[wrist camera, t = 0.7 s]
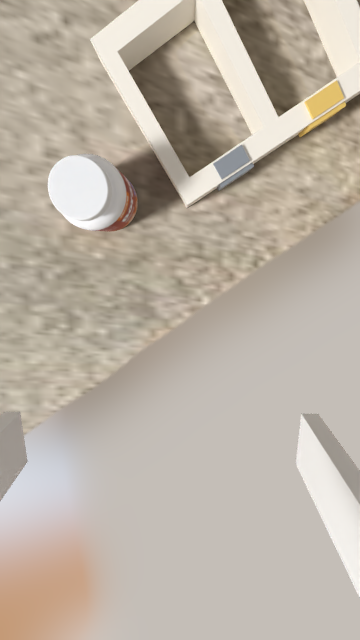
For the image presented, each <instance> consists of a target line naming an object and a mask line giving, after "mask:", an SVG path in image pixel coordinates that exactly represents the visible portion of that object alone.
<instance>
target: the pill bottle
mask: <svg viewBox="0 0 360 640" xmlns="http://www.w3.org/2000/svg"><path fill="white" fill-rule="evenodd" d="M48 192H49V196H50V198H51V201H52V203H53V204H54V206H55V207H56V208H57V210H58V211H60V212H61V213H62V214H63V216H64V217H65V218H66V219H67V220H68V221H69V222H71V223H72V224H74V225H75V226H77V227H80V228H82V229H86V230H92V231H117V230H120V229H122V228H124V227H125V226H127V225H128V224H129V223H130V222H131V221H132V219H133V218H134V216H135V214H136V211H137V205H138V200H137V194H136V191H135V189H134V187H133V185H132V184H131V182H130V181H129V180H128V179H127V178H126V177H125V176H124V175H123V174H122V173H121V172H120V171H119V170H118V169H117V168H116V167H115V166H114V165H113V164H111V163H110V162H109V161H107V160H106V159H104V158H102V157H100V156H98V155H94V154H80V155H71V156H67V157H65V158H63V159H61V160H59V161H58V162H57V163H56V164H55V165H54V167H53V168H52V170H51V172H50V175H49V179H48Z"/></svg>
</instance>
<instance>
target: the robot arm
mask: <svg viewBox="0 0 360 640" xmlns="http://www.w3.org/2000/svg"><path fill="white" fill-rule="evenodd" d="M26 463H27V455H26V448H25V441H24V435H23V428H22V421H21V415H20V412H3V413H2V414H1V415H0V501H1V499H2V498H3V496H4V495H5V494H6V492H7V490H8V489H9V488H10V486H11V485H12V483H13V482H14V481H15V479H16V478H17V476H18V475H19V473H20V472H21V470H22V469H23V467H24V466H25V464H26ZM296 466H297V467H298V470H299V472H300V474H301V476H302V478H303V480H304V482H305V484H306V487H307V489H308V491H309V493H310V495H311V497H312V499H313V501H314V503H315V505H316V507H317V509H318V512H319V513H320V516H321V518H322V520H323V522H324V524H325V526H326V528H327V530H328V533H329V535H330V537H331V539H332V541H333V543H334V545H335V547H336V549H337V551H338V553H339V555H340V558H341V560H342V562H343V564H344V566H345V568H346V570H347V572H348V574H349V576H350V578H351V580H352V583H353V585H354V587H355V589H356V591H357V593H358V595H359V597H360V470H359V469H358V468H357V467H356V465H355V464H354V462H353V461H352V459H351V458H350V457H349V455H348V454H347V453H346V451H345V450H344V449H343V447H342V446H341V445H340V443H339V442H338V440H337V439H336V438H335V436H334V435H333V434H332V432H331V431H330V429H329V428H328V427H327V425H326V424H325V423H324V421H323V420H322V419H321V418H320V416H319V415H318V414H301V422H300V432H299V440H298V449H297V458H296Z"/></svg>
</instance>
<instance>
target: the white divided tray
mask: <svg viewBox="0 0 360 640" xmlns="http://www.w3.org/2000/svg"><path fill="white" fill-rule="evenodd" d="M304 2H305V4H306V6H307V9H308V11H309V13H310V16H311V18H312V20H313V23H314V25H315V27H316V30H317V32H318V34H319V37H320V39H321V41H322V44H323V46H324V48H325V51H326V53H327V55H328V58H329V60H330V62H331V65H332V67H333V69H334V72H335V74H336V76H337V78H336V79H334V80H333V81H331V82H330V83H328V84H327V85H325V86H324V87H322V88H321V89H319V90H318V91H317V92H315V93H314V94H312V95H311V96H309V97H308V98H306V99H305V100H303V101H302V102H300V103H299V104H297V105H296V106H294V107H293V108H291V109H290V110H288V111H287V112H285V113H284V114H283V115H281V116H280V117H278V115H277V113H276V111H275V109H274V107H273V105H272V103H271V101H270V99H269V97H268V95H267V93H266V90H265V88H264V86H263V84H262V82H261V80H260V78H259V76H258V74H257V72H256V70H255V68H254V66H253V64H252V62H251V59H250V57H249V55H248V53H247V51H246V49H245V47H244V45H243V43H242V41H241V39H240V37H239V35H238V33H237V31H236V28H235V26H234V24H233V22H232V20H231V18H230V16H229V14H228V12H227V10H226V8H225V6H224V4H223V2H222V0H139V1H137V2H136V3H135V4H133V5H132V6H131V7H130V8H128V9H127V10H126V11H125V12H123V13H122V14H121V15H120V16H118V17H117V18H116V19H115V20H113V21H112V22H111V23H110V24H108V25H107V26H106V27H105V28H103V29H102V30H101V31H100V32H98V33H97V34H96V35H95V36H93V37H92V38H91V39H90V40H91V43H92V45H93V47H94V49H95V51H96V53H97V55H98V57H99V59H100V61H101V63H102V65H103V66H104V68H105V70H106V71H107V73H108V75H109V77H110V78H111V80H112V82H113V83H114V85H115V87H116V88H117V90H118V92H119V94H120V95H121V97H122V99H123V100H124V102H125V104H126V105H127V107H128V109H129V111H130V112H131V114H132V116H133V117H134V119H135V121H136V122H137V124H138V126H139V128H140V129H141V131H142V133H143V134H144V136H145V138H146V139H147V141H148V143H149V145H150V146H151V148H152V150H153V151H154V153H155V155H156V156H157V158H158V160H159V162H160V163H161V165H162V167H163V168H164V170H165V172H166V174H167V175H168V177H169V179H170V180H171V182H172V184H173V185H174V187H175V189H176V191H177V192H178V194H179V196H180V197H181V199H182V201H183V202H184V204H185V206H186V208H188V207H189V206H191V205H192V204H194V203H195V202H197V201H198V200H200V199H201V198H203V197H204V196H206V195H207V194H209V193H210V192H212V191H213V190H215V189H216V188H217V189H218V191H220V190H221V189H223V188H224V187H226V186H227V185H229V184H230V183H232V182H233V181H235V180H236V179H238V178H239V177H241V176H243V175H244V174H246V173H247V172H249V171H250V170H251V169H252V168H253V167H254V165H253V164H254V163H256V162H257V161H259V160H260V159H262V158H263V157H265V156H266V155H268V154H269V153H271V152H272V151H274V150H275V149H277V148H278V147H280V146H282V145H283V144H285V143H286V142H288V141H289V140H291V139H292V138H294V137H295V136H297V135H299V137H302V136H303V135H305V134H306V133H308V132H309V131H311V130H312V129H314V128H315V127H317V126H318V125H320V124H322V123H323V122H325V121H326V120H328V119H329V118H331V117H332V116H334V115H335V114H336V113H337V112H339V111H340V110H341V109H343V108H344V107H345V106H346V103H347V102H348V101H350V100H351V99H353V98H354V97H356V96H357V95H359V94H360V7H359V5H358V2H357V0H304ZM193 21H195V23H196V25H197V27H198V29H199V31H200V33H201V35H202V37H203V39H204V41H205V43H206V45H207V47H208V49H209V51H210V53H211V55H212V57H213V59H214V61H215V63H216V64H217V66H218V68H219V70H220V72H221V74H222V76H223V78H224V80H225V82H226V84H227V86H228V88H229V90H230V92H231V94H232V96H233V98H234V100H235V102H236V104H237V106H238V108H239V110H240V112H241V114H242V116H243V118H244V119H245V121H246V123H247V125H248V127H249V129H250V131H251V133H252V135H251V136H250V137H249V138H247V139H246V140H244V141H243V142H241V143H240V144H238V145H237V146H235V147H234V148H232V149H231V150H229V151H228V152H226V153H225V154H223V155H222V156H220V157H219V158H217V159H216V160H215V161H213V162H212V163H210V164H209V165H207V166H206V167H204V168H203V169H201V170H200V171H198V172H197V173H195V174H194V175H192V176H191V177H189V176H188V174H187V172H186V171H185V169H184V167H183V165H182V164H181V162H180V160H179V158H178V157H177V155H176V153H175V151H174V150H173V148H172V146H171V144H170V143H169V141H168V139H167V137H166V136H165V134H164V132H163V130H162V129H161V127H160V125H159V123H158V122H157V120H156V118H155V116H154V115H153V113H152V111H151V109H150V108H149V106H148V104H147V102H146V101H145V99H144V97H143V95H142V94H141V92H140V90H139V88H138V87H137V85H136V83H135V81H134V80H133V78H132V76H131V74H130V73H129V70H130V69H132V68H133V67H134V66H136V65H137V64H138V63H140V62H141V61H142V60H144V59H145V58H146V57H148V56H149V55H150V54H151V53H153V52H154V51H155V50H157V49H158V48H159V47H161V46H162V45H163V44H165V43H166V42H167V41H169V40H170V39H171V38H172V37H174V36H175V35H176V34H178V33H179V32H180V31H182V30H183V29H184V28H186V27H187V26H188V25H190V24H191V23H192V22H193Z"/></svg>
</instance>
